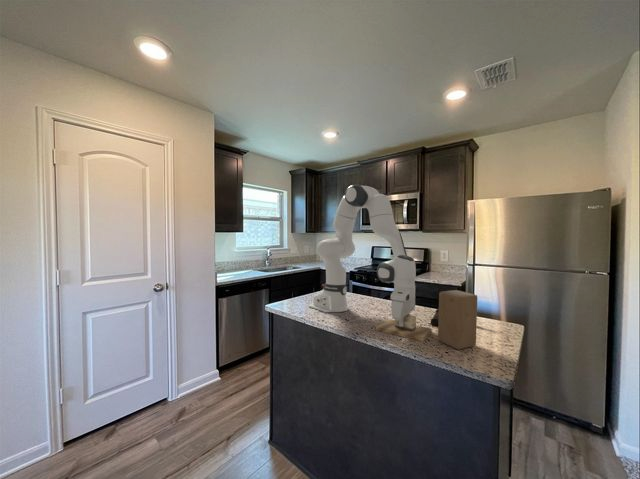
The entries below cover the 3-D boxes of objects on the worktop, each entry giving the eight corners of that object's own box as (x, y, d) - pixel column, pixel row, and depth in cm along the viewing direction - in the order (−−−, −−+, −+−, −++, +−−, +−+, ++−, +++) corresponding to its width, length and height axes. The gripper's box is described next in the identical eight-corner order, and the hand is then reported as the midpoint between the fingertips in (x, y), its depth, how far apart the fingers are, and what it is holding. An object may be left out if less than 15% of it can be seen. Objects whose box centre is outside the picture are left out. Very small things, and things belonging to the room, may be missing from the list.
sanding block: (394, 326, 120) (394, 315, 119) (397, 324, 123) (398, 313, 123) (412, 330, 115) (413, 318, 115) (416, 327, 119) (416, 316, 118)
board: (376, 330, 120) (376, 326, 120) (387, 322, 131) (387, 319, 131) (423, 341, 108) (423, 337, 108) (431, 332, 119) (431, 328, 119)
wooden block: (458, 350, 100) (460, 296, 100) (436, 340, 109) (438, 291, 109) (477, 346, 104) (478, 294, 104) (454, 337, 113) (456, 289, 113)
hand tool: (439, 327, 125) (440, 317, 125) (430, 326, 127) (430, 316, 127) (445, 317, 141) (445, 308, 141) (436, 315, 143) (437, 307, 143)
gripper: (405, 288, 129) (404, 317, 130) (388, 296, 113) (388, 329, 113) (418, 290, 126) (418, 319, 126) (404, 298, 109) (403, 332, 109)
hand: (403, 324), depth 119 cm, fingers closed on sanding block, 4 cm apart
